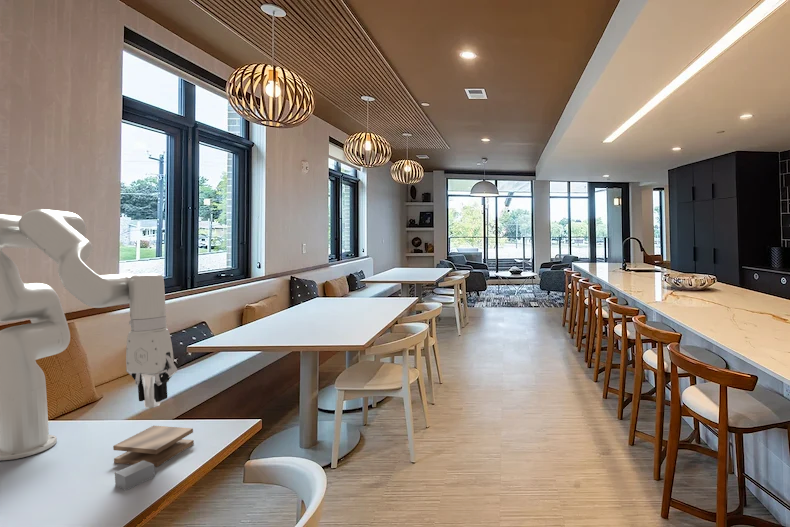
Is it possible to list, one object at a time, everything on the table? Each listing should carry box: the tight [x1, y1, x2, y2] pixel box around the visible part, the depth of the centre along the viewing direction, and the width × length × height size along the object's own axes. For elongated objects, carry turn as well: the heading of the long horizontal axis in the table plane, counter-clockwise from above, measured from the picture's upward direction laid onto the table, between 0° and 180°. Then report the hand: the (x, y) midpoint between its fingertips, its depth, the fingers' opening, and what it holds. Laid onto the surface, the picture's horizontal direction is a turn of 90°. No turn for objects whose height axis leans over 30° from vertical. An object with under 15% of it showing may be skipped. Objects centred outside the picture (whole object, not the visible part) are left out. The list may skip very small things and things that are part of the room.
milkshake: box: [141, 373, 162, 409], centre depth 105 cm, size 4×5×10 cm
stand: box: [112, 425, 195, 468], centre depth 106 cm, size 12×12×4 cm
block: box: [114, 460, 155, 491], centre depth 92 cm, size 4×6×3 cm, turn 149°
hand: (153, 398), depth 105 cm, fingers closed on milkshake, 4 cm apart
